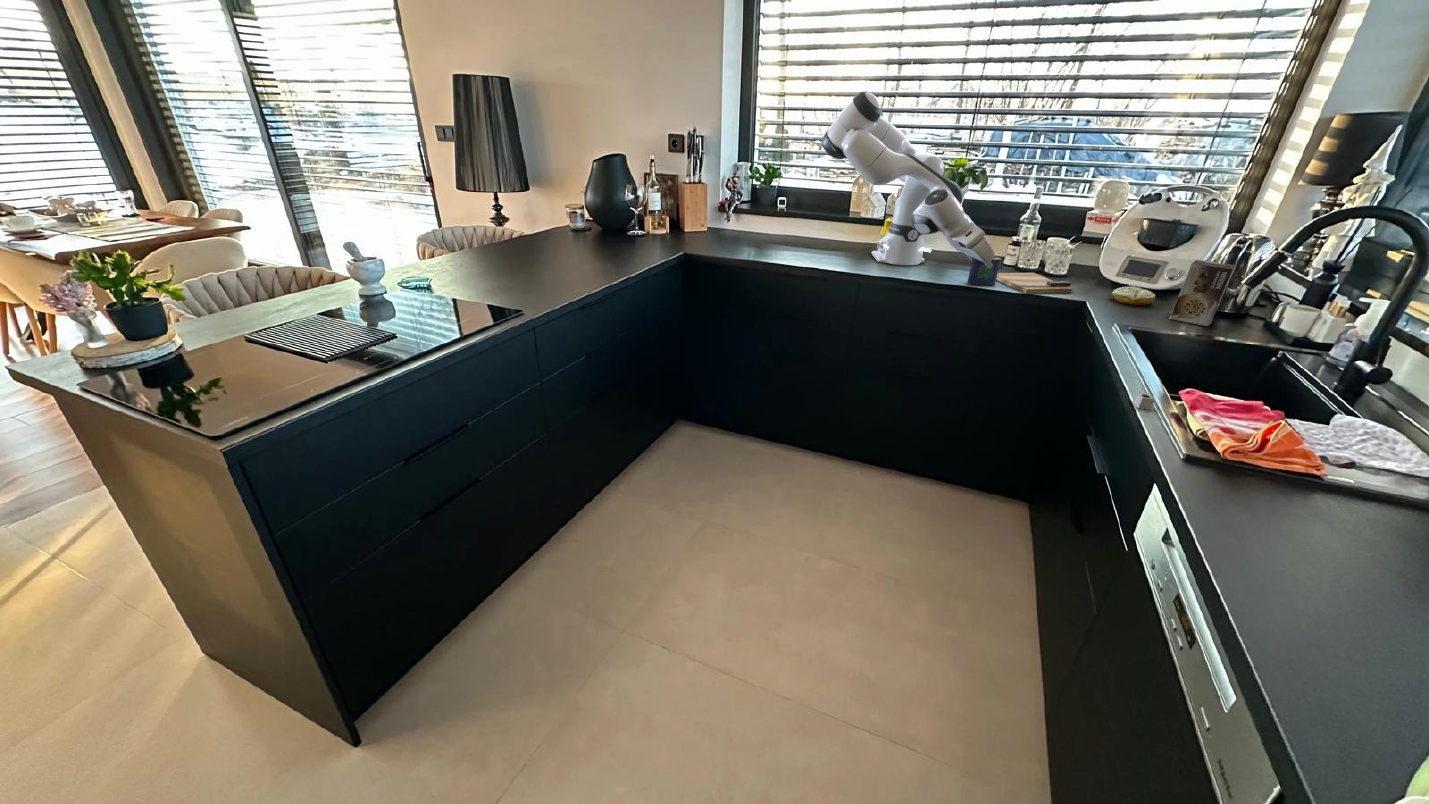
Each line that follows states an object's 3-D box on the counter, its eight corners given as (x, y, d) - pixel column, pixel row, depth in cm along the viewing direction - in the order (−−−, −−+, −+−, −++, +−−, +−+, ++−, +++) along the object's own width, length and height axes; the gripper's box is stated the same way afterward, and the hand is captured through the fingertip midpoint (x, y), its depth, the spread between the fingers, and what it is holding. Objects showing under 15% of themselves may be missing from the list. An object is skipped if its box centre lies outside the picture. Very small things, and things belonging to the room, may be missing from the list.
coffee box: (1211, 322, 157) (1237, 265, 150) (1208, 327, 153) (1234, 268, 146) (1172, 314, 163) (1195, 258, 155) (1168, 318, 159) (1191, 262, 151)
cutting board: (990, 277, 196) (991, 273, 196) (1032, 276, 198) (1033, 272, 198) (1025, 293, 179) (1026, 289, 178) (1070, 292, 181) (1072, 288, 180)
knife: (1020, 285, 182) (1022, 281, 182) (1065, 284, 184) (1066, 280, 184) (1025, 286, 180) (1026, 283, 180) (1070, 286, 182) (1071, 282, 182)
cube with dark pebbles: (1138, 408, 109) (1143, 396, 107) (1133, 403, 110) (1138, 392, 109) (1150, 409, 108) (1155, 398, 107) (1145, 404, 110) (1150, 393, 109)
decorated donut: (1102, 297, 177) (1107, 286, 175) (1128, 295, 179) (1132, 284, 178) (1133, 307, 168) (1137, 295, 166) (1159, 305, 171) (1164, 293, 169)
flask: (993, 283, 189) (1001, 252, 184) (996, 286, 186) (1004, 254, 181) (965, 283, 189) (972, 251, 184) (968, 285, 186) (976, 253, 181)
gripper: (938, 233, 188) (958, 262, 194) (969, 246, 170) (990, 277, 176) (953, 220, 187) (974, 249, 192) (986, 231, 169) (1007, 263, 174)
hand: (982, 263), depth 184 cm, fingers open, 8 cm apart
